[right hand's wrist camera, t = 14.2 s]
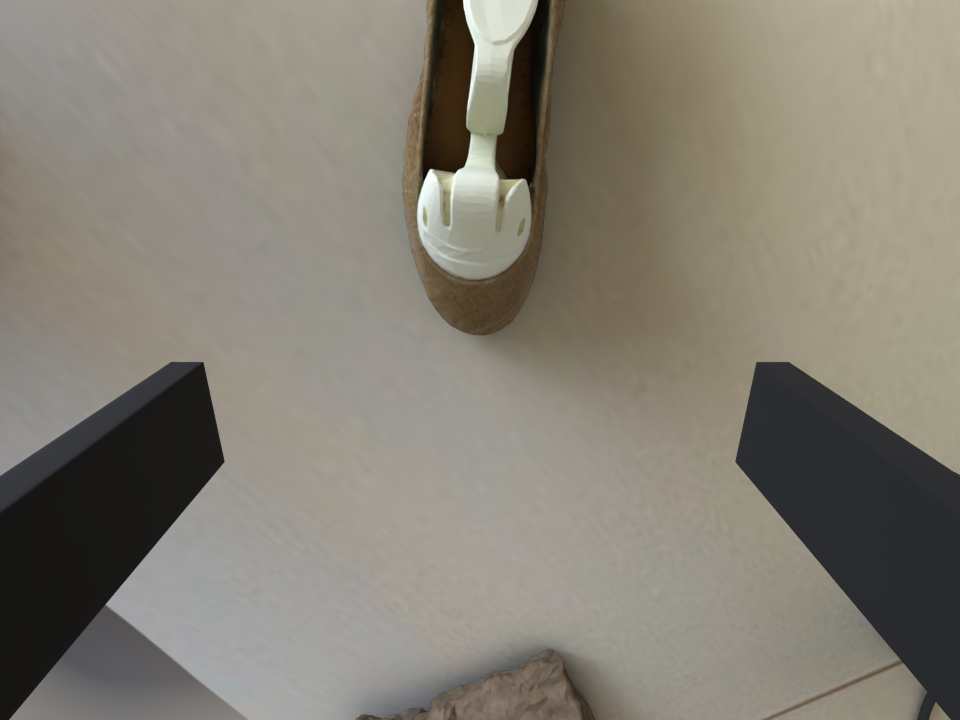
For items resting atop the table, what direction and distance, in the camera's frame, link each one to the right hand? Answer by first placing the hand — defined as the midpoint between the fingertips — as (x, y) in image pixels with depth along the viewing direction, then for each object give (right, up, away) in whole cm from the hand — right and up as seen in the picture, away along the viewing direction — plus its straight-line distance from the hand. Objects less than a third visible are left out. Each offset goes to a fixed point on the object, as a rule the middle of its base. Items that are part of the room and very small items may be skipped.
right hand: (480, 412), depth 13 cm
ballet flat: (0, +15, +17) cm, 22 cm away
